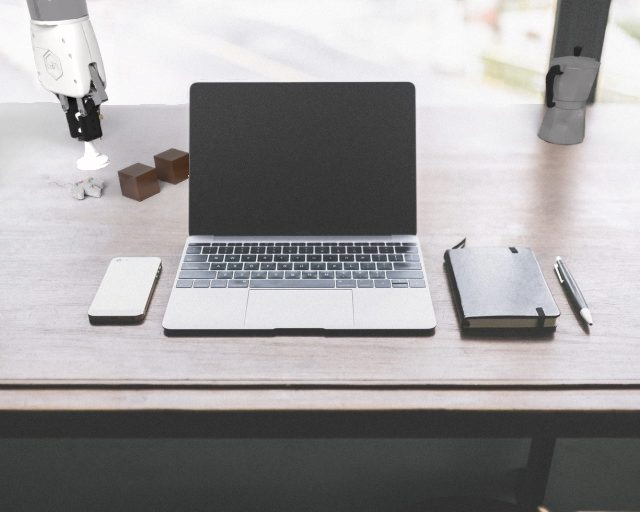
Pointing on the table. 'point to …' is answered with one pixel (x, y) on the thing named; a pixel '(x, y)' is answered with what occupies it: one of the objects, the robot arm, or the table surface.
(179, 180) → the block far
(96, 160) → the chess piece
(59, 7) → the robot arm
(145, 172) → the block mid
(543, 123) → the coffeepot
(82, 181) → the grey rock
